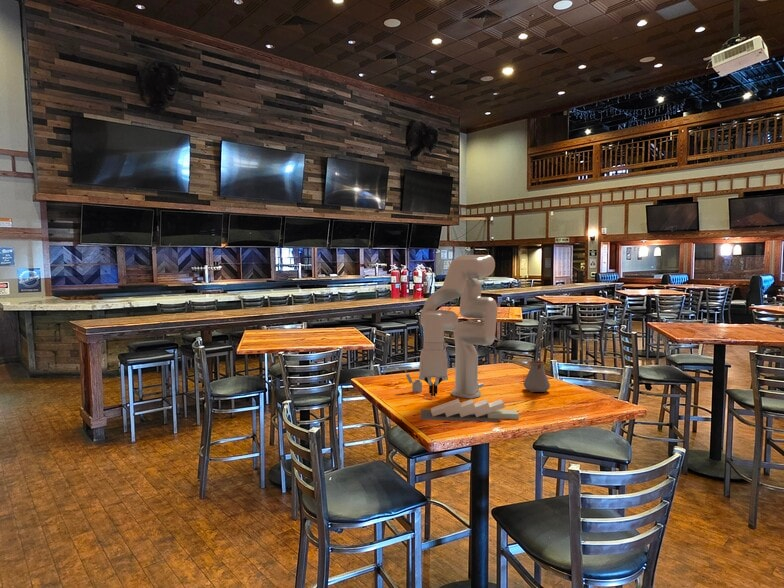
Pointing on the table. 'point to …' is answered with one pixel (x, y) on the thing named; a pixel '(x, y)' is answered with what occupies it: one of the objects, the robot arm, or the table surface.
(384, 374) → the table surface
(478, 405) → the domino
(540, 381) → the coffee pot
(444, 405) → the domino
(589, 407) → the table surface
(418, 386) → the lighter
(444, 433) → the table surface
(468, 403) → the domino
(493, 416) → the domino
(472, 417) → the mat
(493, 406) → the domino
